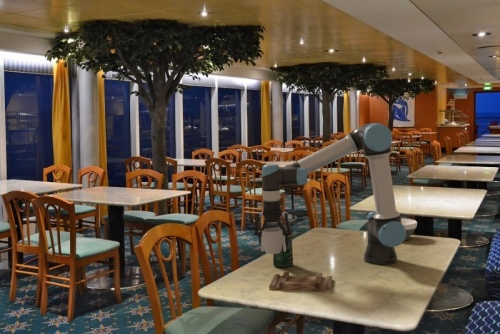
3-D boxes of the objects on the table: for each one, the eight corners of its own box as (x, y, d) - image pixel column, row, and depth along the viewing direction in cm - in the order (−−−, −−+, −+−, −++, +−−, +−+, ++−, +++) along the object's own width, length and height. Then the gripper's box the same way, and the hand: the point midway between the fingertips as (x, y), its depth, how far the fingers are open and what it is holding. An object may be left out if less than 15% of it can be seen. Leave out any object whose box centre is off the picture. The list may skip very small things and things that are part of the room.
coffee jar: (285, 269, 247) (285, 228, 245) (270, 266, 251) (269, 226, 249) (296, 264, 255) (295, 224, 253) (281, 261, 259) (280, 223, 257)
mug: (278, 255, 233) (277, 232, 233) (259, 254, 238) (258, 231, 237) (290, 248, 245) (289, 226, 244) (272, 247, 249) (271, 225, 248)
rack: (332, 279, 229) (332, 273, 229) (330, 291, 214) (330, 284, 213) (275, 277, 234) (274, 271, 234) (269, 289, 218) (269, 282, 218)
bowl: (375, 235, 310) (375, 218, 310) (408, 234, 312) (408, 217, 312) (387, 243, 291) (387, 225, 290) (423, 241, 293) (423, 224, 292)
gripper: (297, 198, 241) (299, 248, 243) (248, 198, 245) (251, 248, 247) (295, 200, 233) (297, 253, 235) (245, 201, 237) (247, 252, 240)
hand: (273, 250), depth 241 cm, fingers closed on mug, 9 cm apart
